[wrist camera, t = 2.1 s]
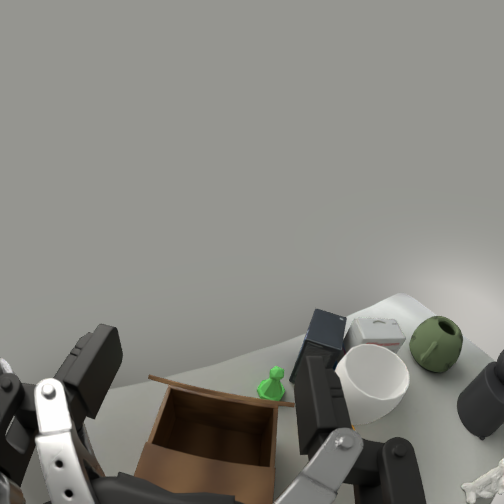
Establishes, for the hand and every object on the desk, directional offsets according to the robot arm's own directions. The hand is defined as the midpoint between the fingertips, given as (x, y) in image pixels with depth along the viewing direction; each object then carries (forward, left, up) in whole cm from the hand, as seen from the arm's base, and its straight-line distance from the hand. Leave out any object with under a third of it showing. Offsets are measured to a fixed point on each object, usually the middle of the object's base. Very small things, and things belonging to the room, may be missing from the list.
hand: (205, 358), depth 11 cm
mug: (+49, +13, -28) cm, 58 cm away
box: (+21, +18, -28) cm, 39 cm away
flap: (+3, +7, -15) cm, 17 cm away
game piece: (+13, +15, -28) cm, 34 cm away
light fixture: (+52, -6, -28) cm, 59 cm away
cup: (+19, +5, -28) cm, 34 cm away
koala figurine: (+38, -19, -28) cm, 51 cm away
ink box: (+29, +15, -28) cm, 43 cm away
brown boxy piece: (+1, +2, -28) cm, 28 cm away
